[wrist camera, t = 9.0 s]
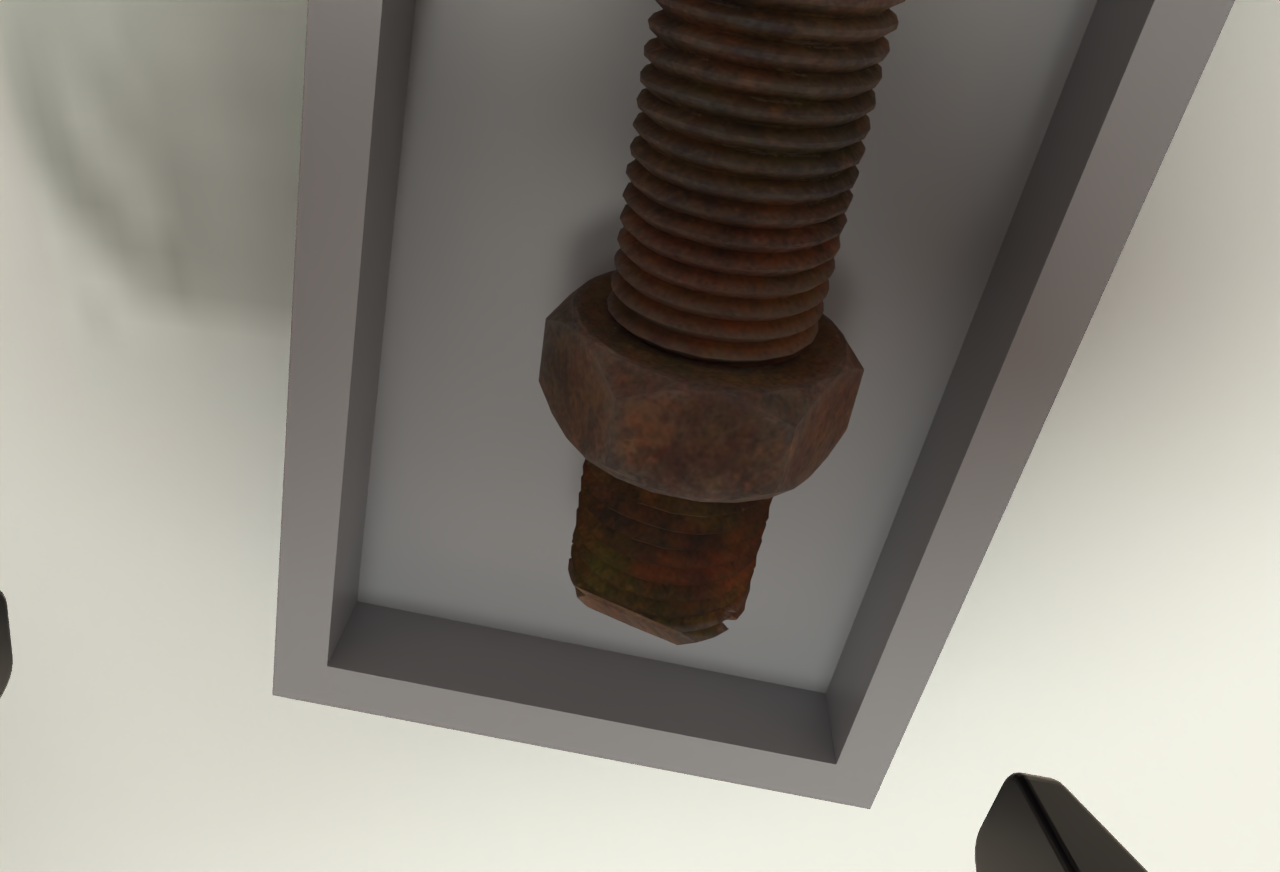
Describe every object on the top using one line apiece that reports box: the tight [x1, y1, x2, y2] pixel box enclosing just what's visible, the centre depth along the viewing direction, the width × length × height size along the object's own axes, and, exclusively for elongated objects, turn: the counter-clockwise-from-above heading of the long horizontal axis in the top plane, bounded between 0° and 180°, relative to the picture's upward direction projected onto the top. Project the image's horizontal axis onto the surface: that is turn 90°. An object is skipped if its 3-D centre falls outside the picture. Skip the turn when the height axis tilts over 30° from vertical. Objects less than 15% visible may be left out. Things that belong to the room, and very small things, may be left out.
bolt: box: [539, 0, 905, 645], centre depth 15 cm, size 6×5×15 cm
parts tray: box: [273, 0, 1235, 809], centre depth 17 cm, size 12×22×2 cm, turn 168°
